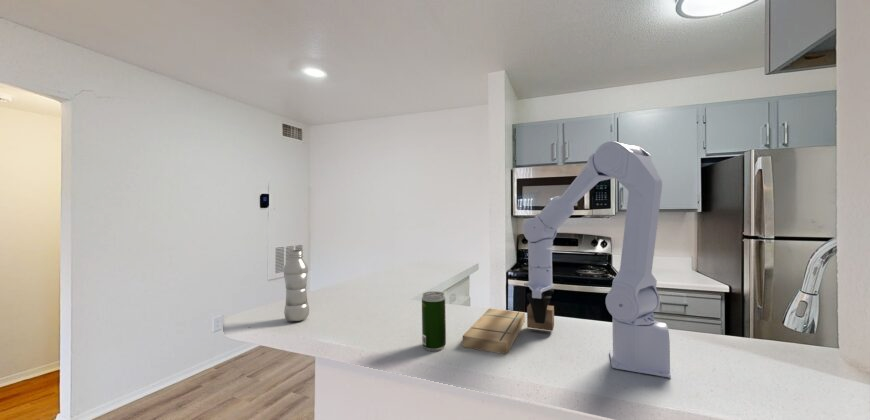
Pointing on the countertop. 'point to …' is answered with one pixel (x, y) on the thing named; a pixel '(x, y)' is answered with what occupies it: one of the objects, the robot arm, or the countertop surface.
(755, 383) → the countertop surface
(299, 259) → the plastic bottle
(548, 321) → the walnut block
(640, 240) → the robot arm
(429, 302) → the beer can
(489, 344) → the oak board
